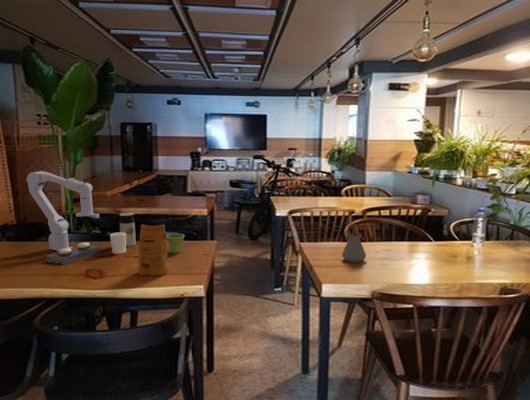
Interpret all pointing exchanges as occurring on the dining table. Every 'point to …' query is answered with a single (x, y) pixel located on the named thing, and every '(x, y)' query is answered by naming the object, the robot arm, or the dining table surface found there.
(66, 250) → the knob
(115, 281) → the dining table surface
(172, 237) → the plant pot
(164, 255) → the coffee package
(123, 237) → the white cup
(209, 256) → the dining table surface
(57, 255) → the knob mount
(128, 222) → the travel mug
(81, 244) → the knob
